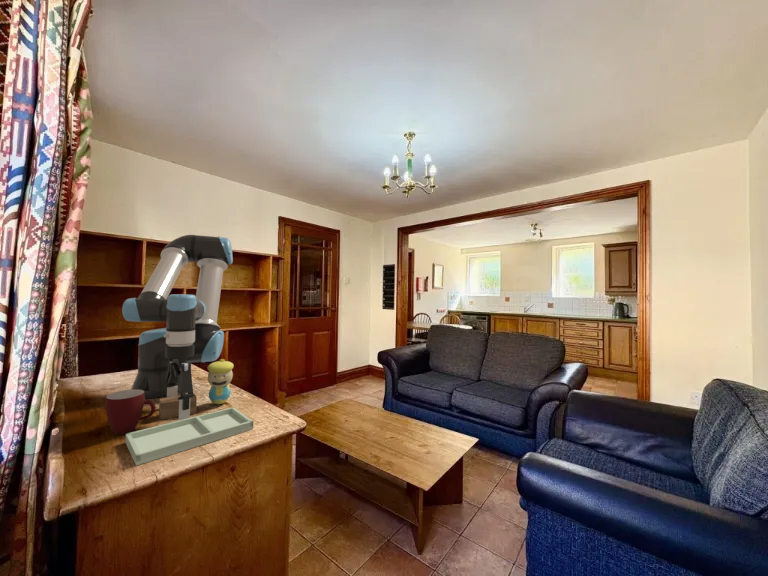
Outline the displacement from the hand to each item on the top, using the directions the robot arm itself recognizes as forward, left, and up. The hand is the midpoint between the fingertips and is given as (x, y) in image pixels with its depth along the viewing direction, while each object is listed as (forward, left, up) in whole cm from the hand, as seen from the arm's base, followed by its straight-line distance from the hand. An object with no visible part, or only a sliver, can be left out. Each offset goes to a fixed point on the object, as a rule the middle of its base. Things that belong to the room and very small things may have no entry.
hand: (177, 413), depth 95 cm
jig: (+18, -1, 0) cm, 18 cm away
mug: (+4, -12, 0) cm, 13 cm away
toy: (0, +12, 0) cm, 12 cm away
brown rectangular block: (0, 0, 0) cm, 0 cm away
